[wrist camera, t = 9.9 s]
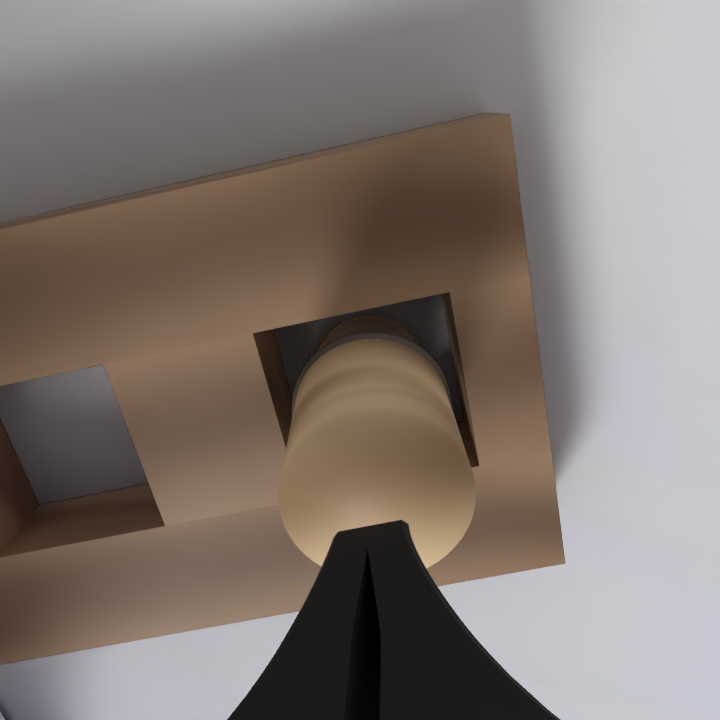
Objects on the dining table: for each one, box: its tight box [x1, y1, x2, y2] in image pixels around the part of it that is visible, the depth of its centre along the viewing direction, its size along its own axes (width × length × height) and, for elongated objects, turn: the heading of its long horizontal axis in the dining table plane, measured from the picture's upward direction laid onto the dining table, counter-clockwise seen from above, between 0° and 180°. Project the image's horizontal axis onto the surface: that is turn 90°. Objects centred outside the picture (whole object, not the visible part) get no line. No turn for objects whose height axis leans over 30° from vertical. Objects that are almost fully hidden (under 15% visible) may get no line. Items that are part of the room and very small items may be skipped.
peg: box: [278, 316, 476, 568], centre depth 18 cm, size 5×5×8 cm
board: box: [0, 113, 565, 665], centre depth 21 cm, size 14×20×3 cm
